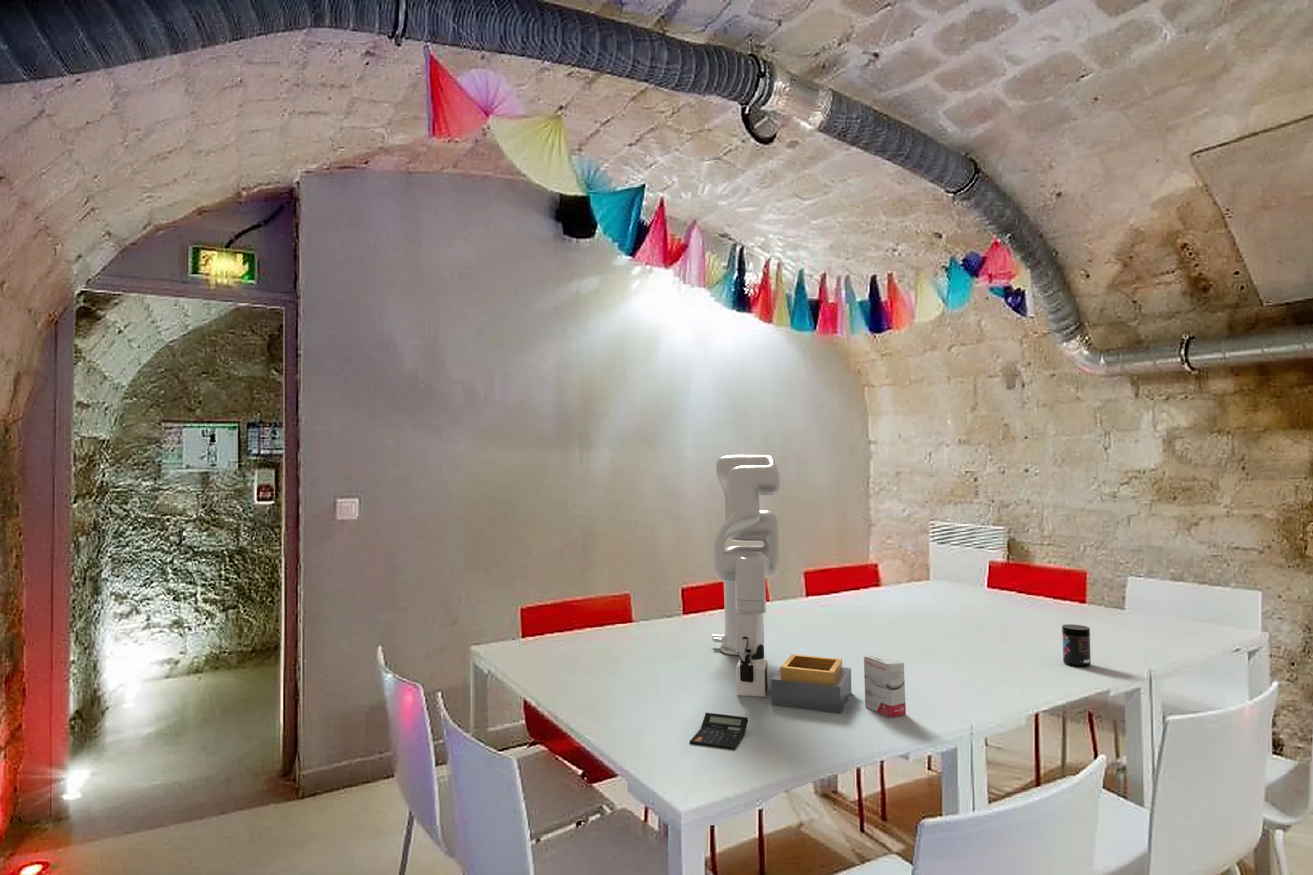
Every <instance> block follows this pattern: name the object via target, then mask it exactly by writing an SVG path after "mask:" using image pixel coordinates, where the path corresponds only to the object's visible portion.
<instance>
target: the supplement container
mask: <svg viewBox="0 0 1313 875" xmlns="http://www.w3.org/2000/svg"><path fill="white" fill-rule="evenodd" d="M1061 632H1062V637H1061V638H1062V661H1063V664H1064V665H1066V664H1067V665H1066V666H1068V665H1070V666H1069V667H1072V666H1074V667H1073V668H1078V667H1086V668H1089V667H1091V665H1092V662H1091V661H1092V659H1091V628H1090V627H1089V626H1086V625H1081V624H1071V623H1070V624H1069V623H1068V624H1062V625H1061Z"/></svg>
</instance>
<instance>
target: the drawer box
mask: <svg viewBox="0 0 1313 875" xmlns="http://www.w3.org/2000/svg"><path fill="white" fill-rule="evenodd" d="M770 691H771V692H770V696H771V698H770V701H771V703H770V704H771V706H778V707H784V708H785V707H786V708H793V709H799V710H807V711H809V710H810V711H817V712H823V713H830V714H831V713H833V714H840V715H841V714H842V713H843V712H842V711H843V710H844V708H845V707H846V704H847V703H848V701H849V699H850V697H851V694H852V668H851V667H845V666H844V667H843V659H842V658H832V657H825V656H815V655H804V654H793V653H792V654H790V656H789V657H788V658H787V660H785V662H783V663H782V665H781V666H780V668H779V670H778V671H777V672H776V673H775V674H774V675H773V676H772V677H771V679H770Z"/></svg>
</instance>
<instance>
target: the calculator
mask: <svg viewBox="0 0 1313 875" xmlns="http://www.w3.org/2000/svg"><path fill="white" fill-rule="evenodd" d="M748 722H749V717H745V716H739V715H738V716H737V715H730V714H721V713H713V712H705V714H704V716H703V720H702V724H701V727H700V729H698V731H697V732H696V733H695V734H694V736H693V737H692V738H691V739H690V740H689V744H690V745H694V746H695V745H696V746H700V747H701V746H703V747H709V748H717V749H724V750H730V751H731V750H732V751H735V750H736V749H737V748H738V746H739V744H740V743H741V741H742V740H743V738H744V736H745V734H746V731H747V727H748Z"/></svg>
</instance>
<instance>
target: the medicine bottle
mask: <svg viewBox="0 0 1313 875" xmlns="http://www.w3.org/2000/svg"><path fill="white" fill-rule="evenodd" d="M746 652H751V650H746ZM748 659H749V656H748ZM752 665H753V679H754V681H753V682H743V681H741V680H740V658H739V659H738V661H737V664H736V668H735V670H736V671H735V672H736V674H735V675H736V676H735V678H736V681H735V682H736V685H735V686H736V696H739V697H740V696H743V697H754V698H755V697H757V698H759V697H760V698H761V697H762V698H766V697H767V692H768V686H769V685H768V660H765V646H763V645H762V644H760V645H759V647H758V648H757V653H756V654H754V655H753V660H752Z"/></svg>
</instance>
